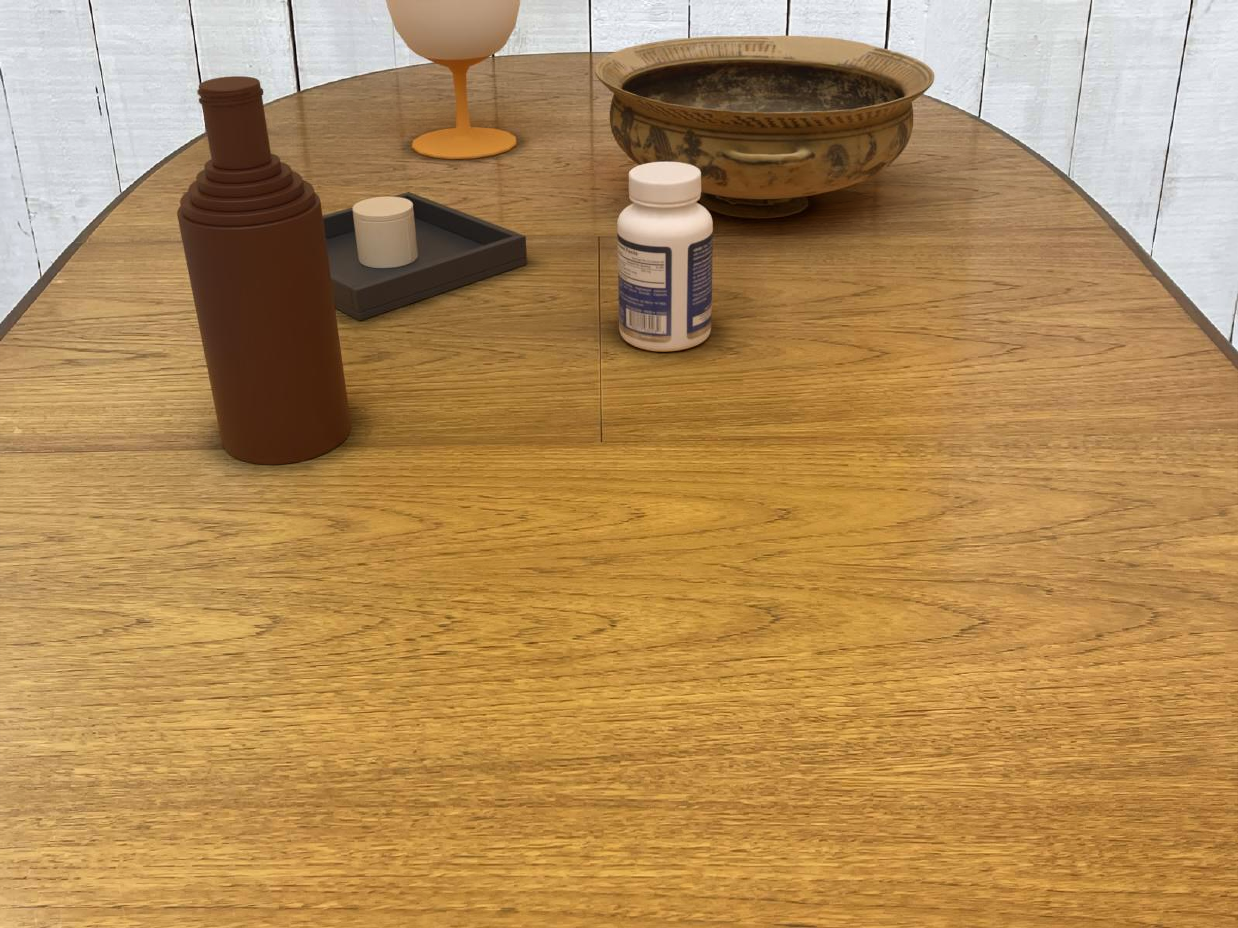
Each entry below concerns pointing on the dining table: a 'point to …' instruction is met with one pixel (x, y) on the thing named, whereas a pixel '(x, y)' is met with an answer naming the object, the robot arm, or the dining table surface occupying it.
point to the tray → (419, 258)
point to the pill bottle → (665, 259)
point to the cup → (457, 62)
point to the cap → (385, 232)
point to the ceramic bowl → (764, 114)
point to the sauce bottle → (262, 288)
